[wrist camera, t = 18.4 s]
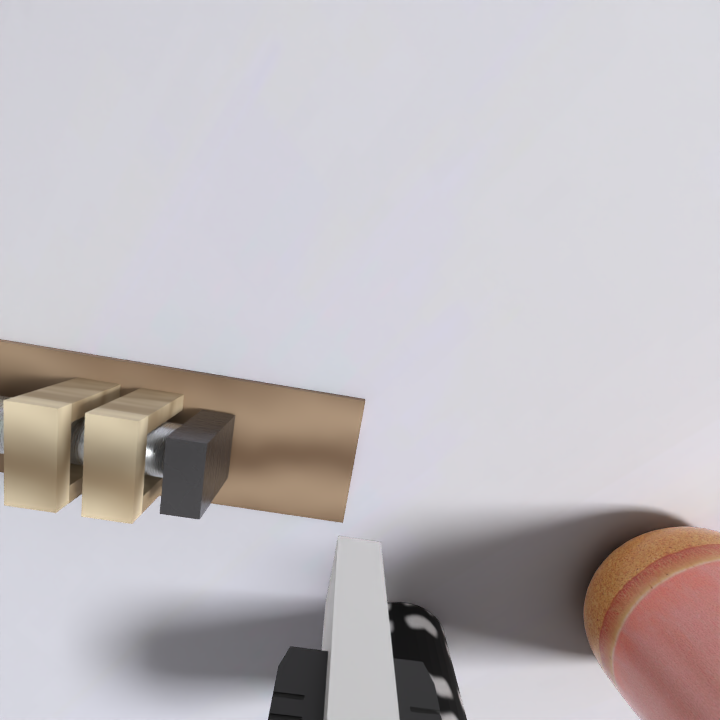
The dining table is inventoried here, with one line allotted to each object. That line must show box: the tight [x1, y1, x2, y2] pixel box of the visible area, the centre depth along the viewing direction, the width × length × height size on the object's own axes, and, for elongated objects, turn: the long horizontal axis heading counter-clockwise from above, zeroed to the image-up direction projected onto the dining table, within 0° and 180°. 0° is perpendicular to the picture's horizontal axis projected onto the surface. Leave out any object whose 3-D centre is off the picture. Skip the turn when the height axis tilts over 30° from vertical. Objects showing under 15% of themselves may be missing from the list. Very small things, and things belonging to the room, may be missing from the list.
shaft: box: [0, 396, 235, 519], centre depth 23 cm, size 5×19×5 cm, turn 80°
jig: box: [0, 339, 365, 524], centre depth 23 cm, size 10×39×8 cm, turn 80°
